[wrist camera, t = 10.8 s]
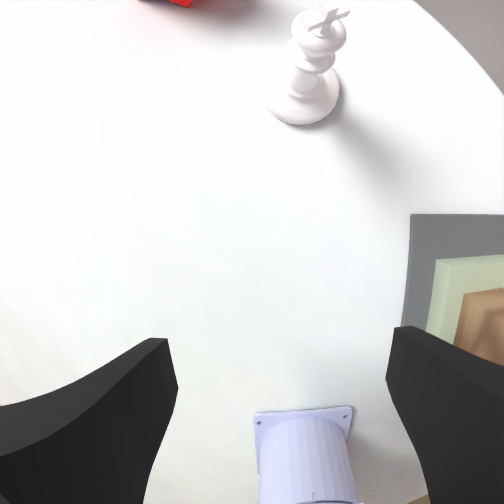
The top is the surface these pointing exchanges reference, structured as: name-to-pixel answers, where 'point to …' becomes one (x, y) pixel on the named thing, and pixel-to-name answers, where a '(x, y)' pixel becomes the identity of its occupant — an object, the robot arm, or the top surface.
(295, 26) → the chess piece
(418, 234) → the build mat
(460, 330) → the walnut snap block
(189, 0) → the toy building block
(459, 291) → the base block
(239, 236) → the top surface
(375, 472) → the top surface
